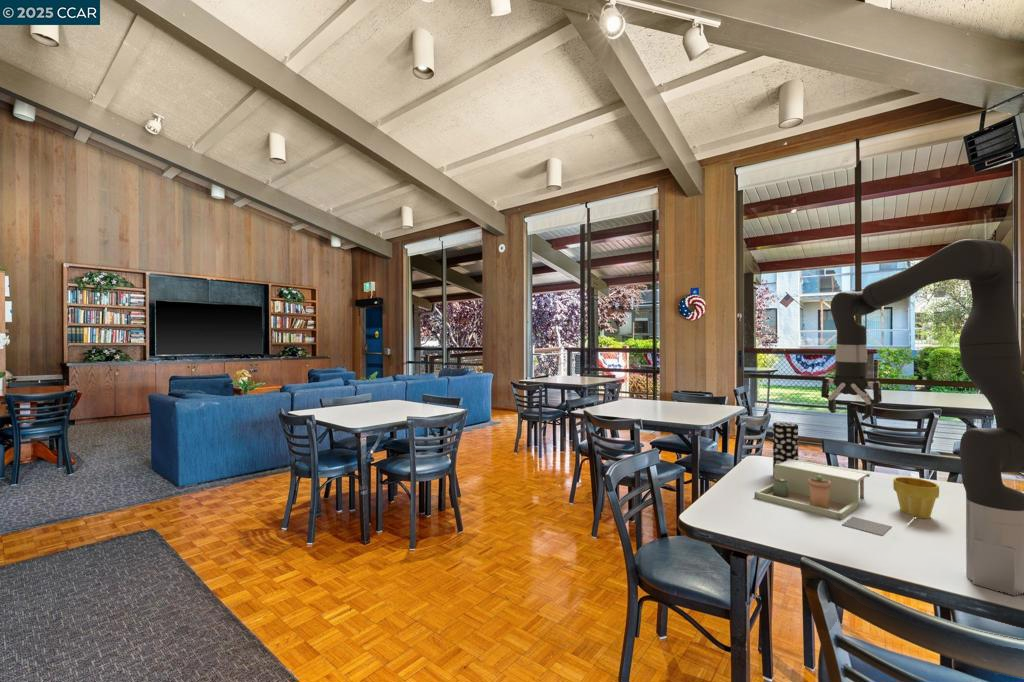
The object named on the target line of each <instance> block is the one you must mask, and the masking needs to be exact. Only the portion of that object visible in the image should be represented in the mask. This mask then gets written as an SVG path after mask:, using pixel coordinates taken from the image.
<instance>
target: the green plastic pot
mask: <svg viewBox="0 0 1024 682" xmlns="http://www.w3.org/2000/svg"><path fill="white" fill-rule="evenodd" d="M772 484H773V494H774V495H775V496H778V497H789V481H788V480H787V479H785V478H772Z"/></svg>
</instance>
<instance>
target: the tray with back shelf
mask: <svg viewBox="0 0 1024 682" xmlns="http://www.w3.org/2000/svg"><path fill="white" fill-rule="evenodd" d="M818 475H820V476H822V479H826V480H829V481H831V486H830V487H829V509H825V508H821V507H817V506H813V505H810V484H809V483H808V478H816V477H817V476H818ZM773 477H774V478H785V479H787V480H788V481H789V497H778V496H775V495H774V494H773V483H772V484H769V485H768V486H765V487H763V488H761V489H759V490H756V491H754V498H755V499H759V500H762V501H766V502H771V503H774V504H778V505H782V506H786V507H790V508H794V509H798V510H802V511H805V512H810V513H814V514H818V515H821V516H825V517H827V518H828V517H830V518H833V519H836V520H843V519H844V518H846V517H847V516H848V515H850V514H851V513H852V512H854V511H855V510H856V509H858V508H859V507H860V506H859V505H860V503H859V502H860V501H859V499H860V498H861V499H864V497H865V482H864V481H865V479H866V478H870V477H871V473H869V472H863V471H859V470H853V469H847V468H841V467H836V466H832V465H824V464H819V463H815V462H810V461H803V460H799V459H798V460H793V459H788V461H785V462H783V463H780V464H775V467H774V476H773ZM774 478H773V479H774ZM859 497H860V498H859Z"/></svg>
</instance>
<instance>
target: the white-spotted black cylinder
mask: <svg viewBox="0 0 1024 682" xmlns="http://www.w3.org/2000/svg"><path fill="white" fill-rule="evenodd" d="M788 459H793V460H798V461H799V424H796V423H791V422H781V421H780V422H772V475H774V467H775V464H780V463H783V462H785V461H788Z"/></svg>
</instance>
